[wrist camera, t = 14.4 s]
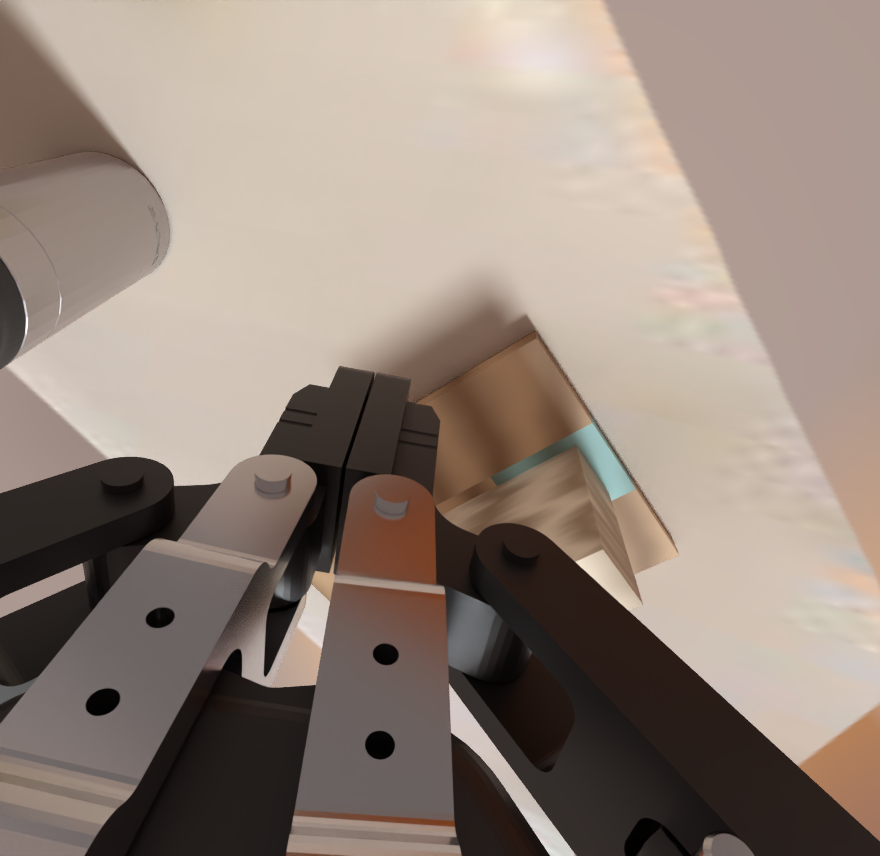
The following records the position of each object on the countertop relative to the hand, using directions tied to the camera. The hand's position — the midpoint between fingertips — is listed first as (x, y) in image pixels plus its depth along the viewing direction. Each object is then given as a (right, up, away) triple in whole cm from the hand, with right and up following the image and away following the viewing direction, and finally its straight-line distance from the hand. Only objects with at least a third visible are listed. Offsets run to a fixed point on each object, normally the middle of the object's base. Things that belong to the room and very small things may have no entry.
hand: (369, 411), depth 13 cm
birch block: (+9, -7, +43) cm, 44 cm away
